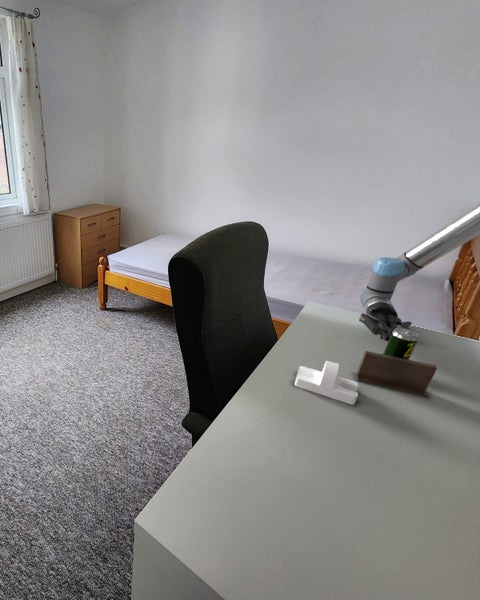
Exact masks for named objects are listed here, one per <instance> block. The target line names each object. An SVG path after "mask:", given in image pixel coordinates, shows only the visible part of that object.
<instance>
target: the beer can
mask: <svg viewBox="0 0 480 600" xmlns="http://www.w3.org/2000/svg"><path fill="white" fill-rule="evenodd" d="M419 336H420V335H419V333H418V332H416V331H414V330H412V329H410V328H409V329H404V328H401V327H398V328H396V329H395V330H394V331H393V332H392V334H391V336H390V339H389V341H388V342H387V344H386V346H385V349H384V351H383V353H382V354H383V355H388V356H393V357H398V358H403V359H408V360H410V358H411V356H412V354H413V351H414V350H415V348H416V346H417V344H418V341H419Z"/></svg>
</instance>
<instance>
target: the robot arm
mask: <svg viewBox="0 0 480 600" xmlns="http://www.w3.org/2000/svg"><path fill="white" fill-rule="evenodd" d="M478 236H480V203H478V204H476V205H475V206H473V207H472V208H470V209H469V210H467V211H466V212H464V213H463V214H461V215H460V216H457V218H455V219H454V220H452V221H451V222H449V223H448V224H446V225H444V226H443V227H441V228H440V229H438V230H437V231H435V232H434V233H432V234H431V235H429V236H427V237H426V238H425V239H423V240H422V241H420V242H419V243H417V244H415V245H414V246H412V247H410V248H409V249H407V250H406V251H405V252H403V253H401V254H400V255H399V256H397V257H396V258H395V257H387V256H386V257H385V256H384V257H379V258H377V259H376V260H375V262H374V265H373V266H372V270H371V273H370V276H369V279H368V281H367V284H366V287H365V289H364V290H362V292H361V293H360V298H359V299H360V303H361V305H362V307H363V310H364V312H365V313H361V314H360V316H359V319H358V321H359V322H360V323H362V324H363V325H365V327H366V328H367V329H368V330H369V331H370V332H371V333H372V334H373V335H375V336H378V335H379V336H380V337H379V339H381V340H383V341H386V342H387V343H388V341H389V339H390V336H391V334H392V332H393V331H394V330H395V329H396V328H399V327H398V326H400V328H404V329H409V330H410V329H411V326H412V324H413V322H412V321H402V318H400V317H399V316H398V312H397V310H396V308H395V305H394V304H393V303H392V301H391V300H392V297H393V295H394V292H395V290H396V287H397V285H398V283H399V282H400V281H402V280H405V279H407V278H410V277H411V276H413V275H415V274H416V273H417V272H419V271H420V270H423V269H424V268H425V267H427V266H429V265H431V264H433V263H434V262H435V261H437V260H439V259H441V258H443V257H444V256H446V255H448V254H449V253H451V252H452V251H454V250H455V249H458V248H460V247H462V245H464V244H466V243H468V242H469V241H471V240H473V239H475V238H476V237H478Z"/></svg>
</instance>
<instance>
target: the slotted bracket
mask: <svg viewBox="0 0 480 600" xmlns="http://www.w3.org/2000/svg"><path fill="white" fill-rule="evenodd" d="M339 367H340V363H337V362H334V361H330V360H325V362H324V365H323V368H322V371H320V370H317V369H314V368H310V367H307V366H304V365H300V366H299V367H298V370H297V373H296V378H295V381H294V385H295V387H297V388H300V389H303V390H307V391H310V392H312V393H316V394H318V395H322V396H324V397H328V398H331V399H334V400H336V401H339V402H343V403H346V404H349V405H355V404H356V401H357V399H358V396H359V392H357V391H358V388H359V383H358V381H357V382H356V381H355V380H351V379H347V378H345V377H340V376H337V375H338V373H339Z"/></svg>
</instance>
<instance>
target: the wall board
mask: <svg viewBox="0 0 480 600" xmlns="http://www.w3.org/2000/svg"><path fill="white" fill-rule="evenodd" d="M359 363H360V364H359V366H358V368H357V371H356V374H355V376H356V380H357V382H360V383H365V384H369V385H373V386H376V387H377V386H378V387H381V388H385V389H389V390H393V391H398V392H401V393H406V394H410V395H415V396H417V397H418V396H419V397H423V398H428V393H427V389H428V387H429V385H430V383H431V382H432V380H433V377H434V375H435V373H436V372H437V369H438V367H437V365H436V364H432V363H426V362H422V361H417V360H412V359H409V360H408V359H403V358H398V357H393V356H388V355H383V353H378V352H375V351H374V352H373V351H368V350H365V351H364V353H363V356H362V358H361V361H360V362H359Z"/></svg>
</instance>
